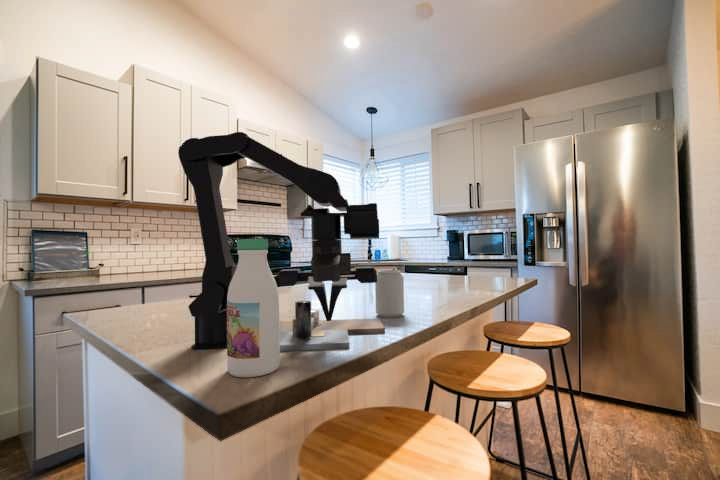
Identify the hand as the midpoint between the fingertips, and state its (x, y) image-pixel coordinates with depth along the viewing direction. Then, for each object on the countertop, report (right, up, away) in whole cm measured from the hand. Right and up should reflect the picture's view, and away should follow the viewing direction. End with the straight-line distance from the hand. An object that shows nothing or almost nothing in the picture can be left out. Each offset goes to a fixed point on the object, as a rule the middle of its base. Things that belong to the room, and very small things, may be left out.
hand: (328, 320), depth 67 cm
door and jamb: (-1, -4, +6) cm, 7 cm away
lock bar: (-5, -3, +6) cm, 8 cm away
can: (+14, -5, +25) cm, 29 cm away
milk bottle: (-10, -4, -14) cm, 18 cm away
